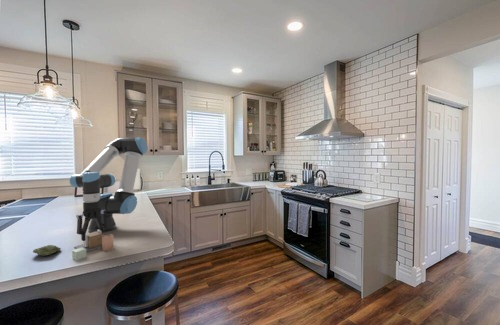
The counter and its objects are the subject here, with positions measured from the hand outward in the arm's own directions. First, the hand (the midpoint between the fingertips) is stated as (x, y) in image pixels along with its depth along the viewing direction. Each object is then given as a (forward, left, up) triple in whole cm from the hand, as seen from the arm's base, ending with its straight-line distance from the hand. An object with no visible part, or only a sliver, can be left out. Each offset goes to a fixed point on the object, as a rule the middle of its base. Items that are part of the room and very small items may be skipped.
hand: (92, 244), depth 119 cm
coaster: (0, 0, -1) cm, 1 cm away
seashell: (-12, -16, -3) cm, 20 cm away
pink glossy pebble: (+11, +2, -1) cm, 11 cm away
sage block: (+9, -10, -1) cm, 14 cm away
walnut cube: (+1, 0, 0) cm, 1 cm away
